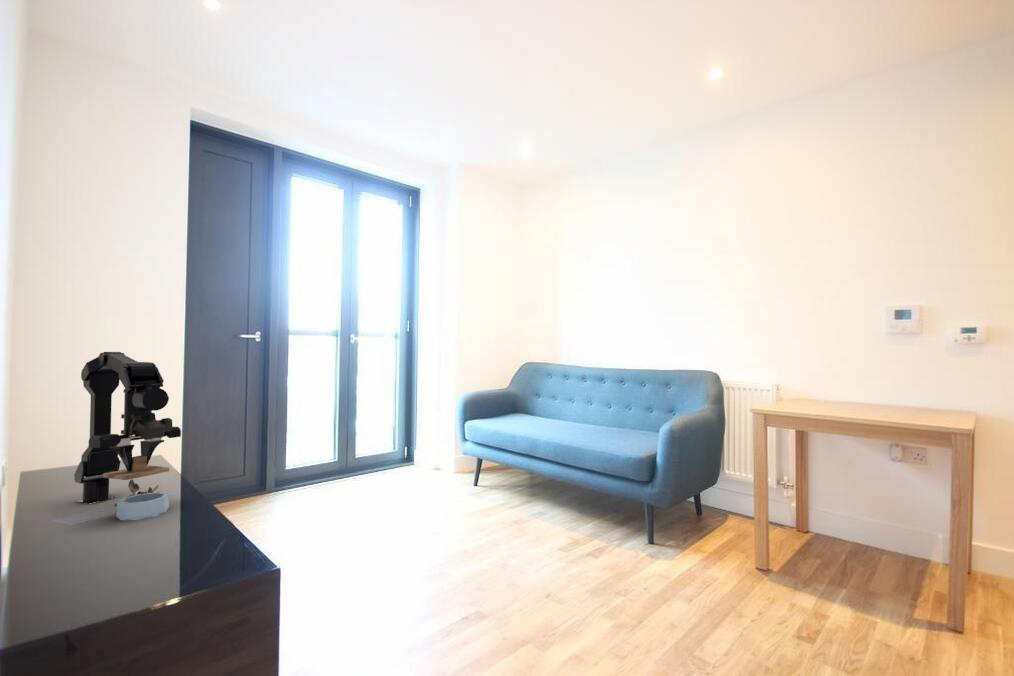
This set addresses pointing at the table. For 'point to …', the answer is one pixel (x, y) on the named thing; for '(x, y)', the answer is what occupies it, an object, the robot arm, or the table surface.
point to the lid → (136, 470)
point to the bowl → (142, 506)
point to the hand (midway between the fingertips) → (137, 469)
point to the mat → (83, 517)
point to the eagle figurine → (137, 489)
